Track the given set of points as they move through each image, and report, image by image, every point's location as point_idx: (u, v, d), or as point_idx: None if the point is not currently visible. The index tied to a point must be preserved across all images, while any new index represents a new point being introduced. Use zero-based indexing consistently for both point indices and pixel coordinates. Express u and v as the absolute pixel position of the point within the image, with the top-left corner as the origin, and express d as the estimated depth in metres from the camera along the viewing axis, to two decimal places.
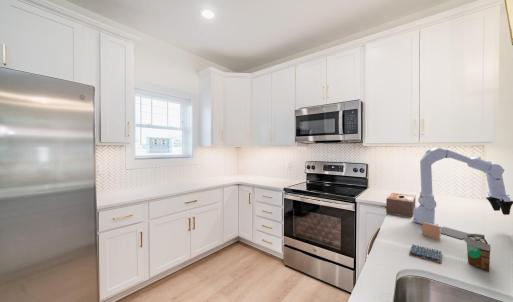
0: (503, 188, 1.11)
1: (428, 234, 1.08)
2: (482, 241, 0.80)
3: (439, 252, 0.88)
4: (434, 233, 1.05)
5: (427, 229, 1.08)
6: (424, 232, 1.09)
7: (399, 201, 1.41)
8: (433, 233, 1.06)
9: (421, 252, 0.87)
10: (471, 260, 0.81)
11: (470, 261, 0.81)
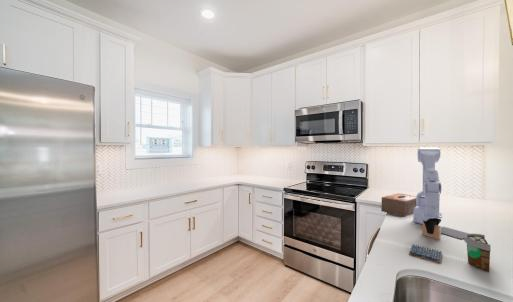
0: (433, 208, 1.05)
1: (428, 234, 1.08)
2: (482, 241, 0.80)
3: (439, 252, 0.87)
4: (434, 233, 1.05)
5: None
6: (424, 232, 1.09)
7: (393, 200, 1.44)
8: (433, 233, 1.06)
9: (421, 252, 0.87)
10: (471, 260, 0.81)
11: (470, 261, 0.81)
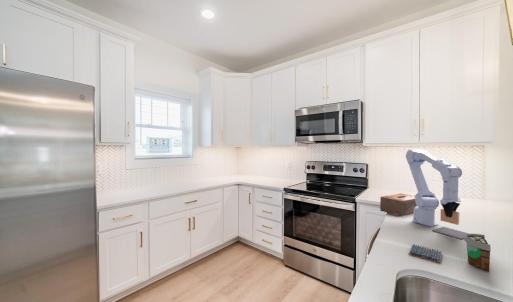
0: (451, 192, 1.08)
1: (446, 220, 1.11)
2: (482, 241, 0.80)
3: (439, 252, 0.87)
4: (453, 219, 1.09)
5: (445, 215, 1.11)
6: (442, 218, 1.12)
7: (391, 200, 1.45)
8: (452, 219, 1.09)
9: (421, 252, 0.87)
10: (471, 260, 0.81)
11: (470, 261, 0.81)
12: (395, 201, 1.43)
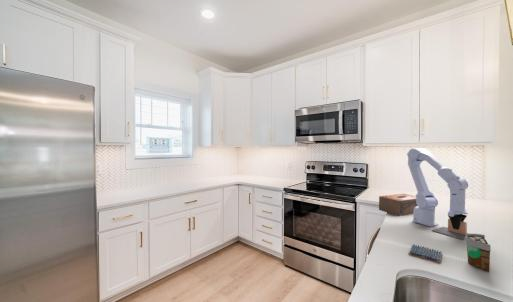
0: (459, 205, 1.09)
1: (454, 230, 1.12)
2: (482, 241, 0.80)
3: (439, 252, 0.87)
4: (460, 229, 1.10)
5: None
6: (450, 228, 1.13)
7: (389, 199, 1.46)
8: (459, 229, 1.10)
9: (421, 252, 0.87)
10: (471, 260, 0.81)
11: (470, 261, 0.81)
12: (392, 201, 1.44)
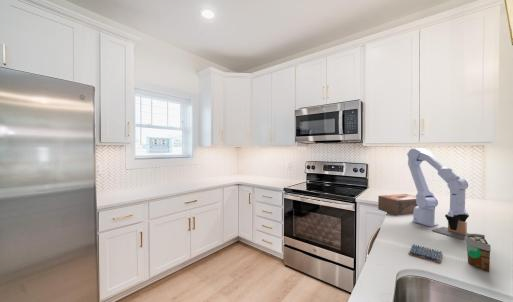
0: (459, 205, 1.09)
1: (454, 230, 1.12)
2: (482, 241, 0.80)
3: (439, 252, 0.87)
4: (460, 229, 1.10)
5: None
6: None
7: (387, 199, 1.47)
8: (459, 229, 1.10)
9: (421, 252, 0.87)
10: (471, 260, 0.81)
11: (470, 261, 0.81)
12: (391, 200, 1.45)
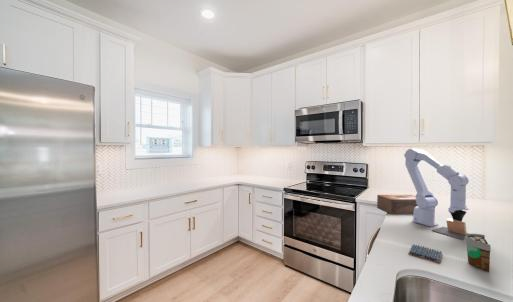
0: (459, 200, 1.09)
1: (454, 230, 1.12)
2: (482, 241, 0.80)
3: (439, 252, 0.87)
4: (460, 229, 1.09)
5: (452, 226, 1.12)
6: (449, 228, 1.13)
7: (383, 198, 1.51)
8: (459, 229, 1.10)
9: (420, 252, 0.88)
10: (471, 260, 0.81)
11: (470, 261, 0.81)
12: (386, 199, 1.48)
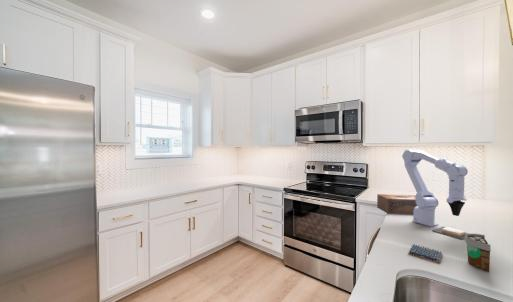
0: (458, 191, 1.08)
1: None
2: (482, 241, 0.80)
3: (439, 252, 0.87)
4: None
5: None
6: None
7: (382, 197, 1.52)
8: None
9: (420, 252, 0.88)
10: (471, 260, 0.81)
11: (470, 261, 0.81)
12: (384, 198, 1.50)
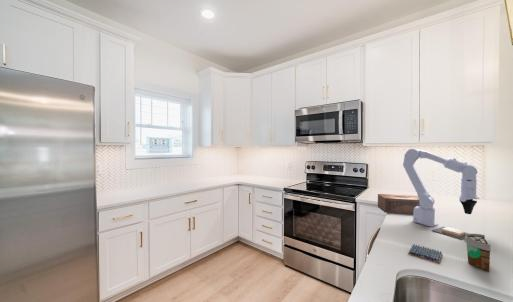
0: (470, 190, 1.11)
1: None
2: (482, 241, 0.80)
3: (439, 252, 0.87)
4: None
5: None
6: None
7: (381, 197, 1.54)
8: None
9: (420, 252, 0.88)
10: (471, 260, 0.81)
11: (470, 261, 0.81)
12: (382, 198, 1.51)
